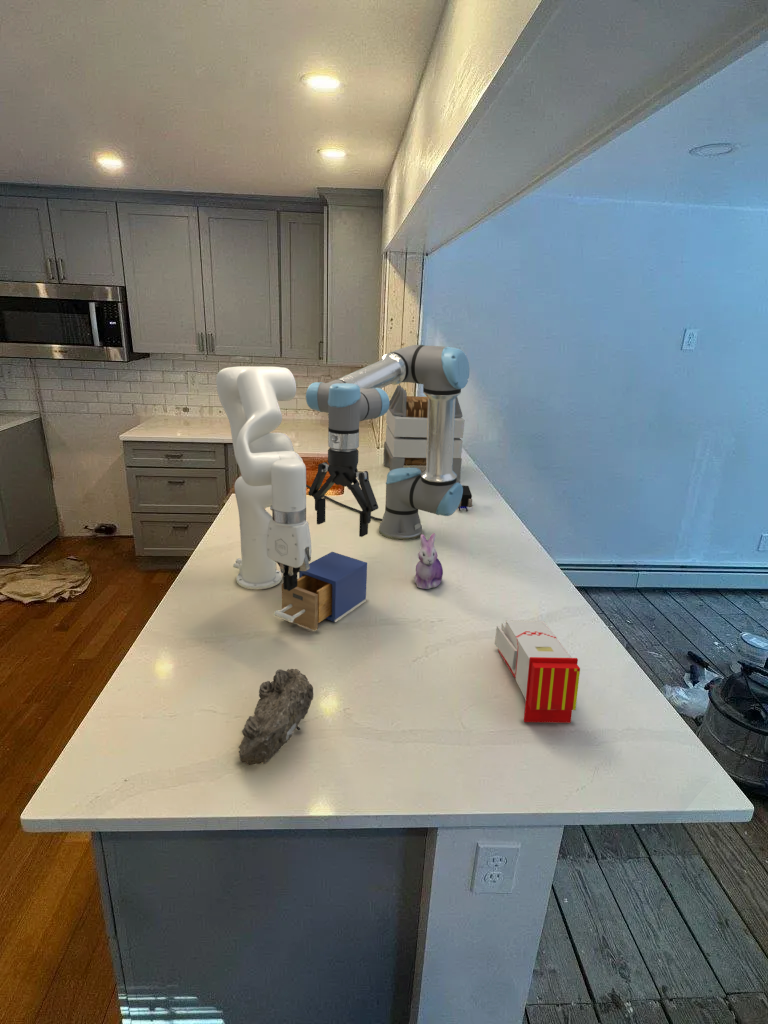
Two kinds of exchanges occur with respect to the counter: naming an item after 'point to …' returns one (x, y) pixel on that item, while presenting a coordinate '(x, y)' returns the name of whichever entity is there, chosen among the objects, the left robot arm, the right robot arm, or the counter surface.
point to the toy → (540, 670)
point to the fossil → (275, 716)
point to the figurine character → (465, 498)
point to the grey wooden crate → (414, 432)
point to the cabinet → (341, 581)
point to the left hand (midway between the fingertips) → (290, 587)
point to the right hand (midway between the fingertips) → (341, 529)
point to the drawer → (306, 602)
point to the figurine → (428, 565)
